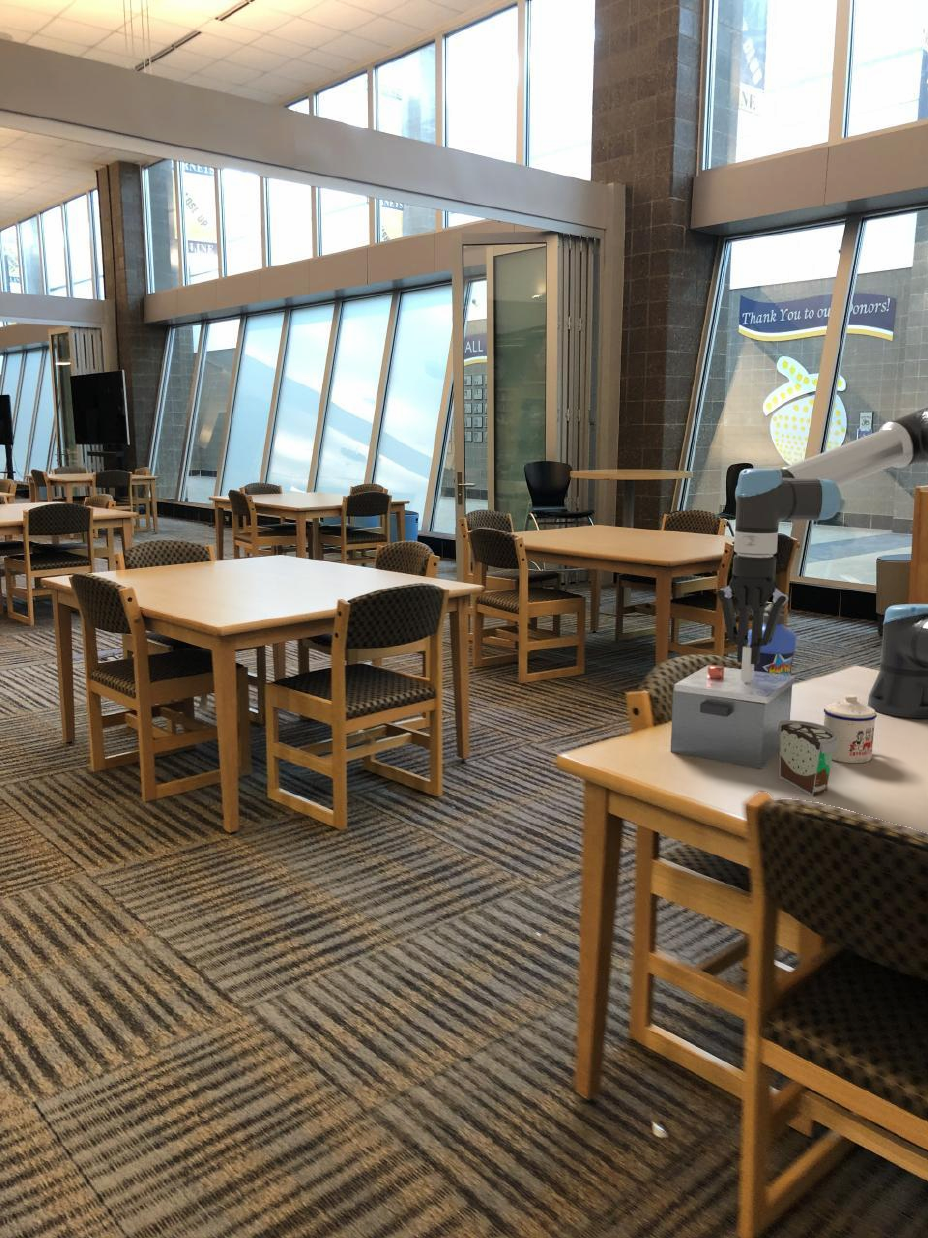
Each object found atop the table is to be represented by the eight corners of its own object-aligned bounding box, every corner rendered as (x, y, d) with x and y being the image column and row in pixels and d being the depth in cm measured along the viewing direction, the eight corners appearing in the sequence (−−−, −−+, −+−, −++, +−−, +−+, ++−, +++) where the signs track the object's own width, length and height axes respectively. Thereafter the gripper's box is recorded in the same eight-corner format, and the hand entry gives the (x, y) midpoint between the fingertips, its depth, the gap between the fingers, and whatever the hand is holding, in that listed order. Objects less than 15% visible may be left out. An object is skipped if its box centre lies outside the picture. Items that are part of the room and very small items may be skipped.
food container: (850, 795, 160) (855, 738, 158) (818, 799, 159) (823, 741, 157) (804, 770, 172) (808, 716, 170) (774, 774, 170) (778, 719, 168)
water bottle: (799, 727, 197) (808, 607, 192) (758, 731, 194) (766, 609, 189) (774, 714, 205) (782, 599, 201) (734, 717, 203) (741, 600, 198)
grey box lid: (795, 682, 184) (795, 665, 183) (767, 703, 170) (768, 686, 169) (707, 671, 193) (708, 655, 193) (674, 690, 179) (674, 673, 179)
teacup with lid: (855, 768, 173) (861, 705, 171) (810, 754, 180) (815, 694, 178) (890, 754, 181) (896, 694, 178) (845, 742, 188) (850, 684, 185)
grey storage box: (790, 741, 188) (794, 681, 186) (757, 772, 171) (761, 707, 169) (706, 726, 197) (709, 669, 195) (666, 754, 180) (669, 692, 178)
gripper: (713, 554, 176) (706, 679, 181) (785, 559, 169) (776, 690, 174) (726, 549, 182) (719, 671, 187) (797, 555, 175) (788, 681, 180)
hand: (747, 680), depth 180 cm, fingers closed
